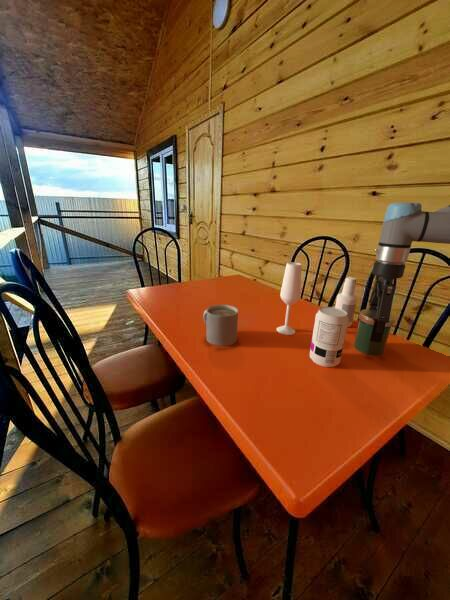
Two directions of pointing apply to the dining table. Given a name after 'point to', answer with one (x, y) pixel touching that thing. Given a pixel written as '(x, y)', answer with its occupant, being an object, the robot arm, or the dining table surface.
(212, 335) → the coffee mug
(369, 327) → the jam jar
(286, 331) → the champagne flute
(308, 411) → the dining table surface
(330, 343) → the supplement can
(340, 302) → the spray bottle
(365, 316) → the jar lid
